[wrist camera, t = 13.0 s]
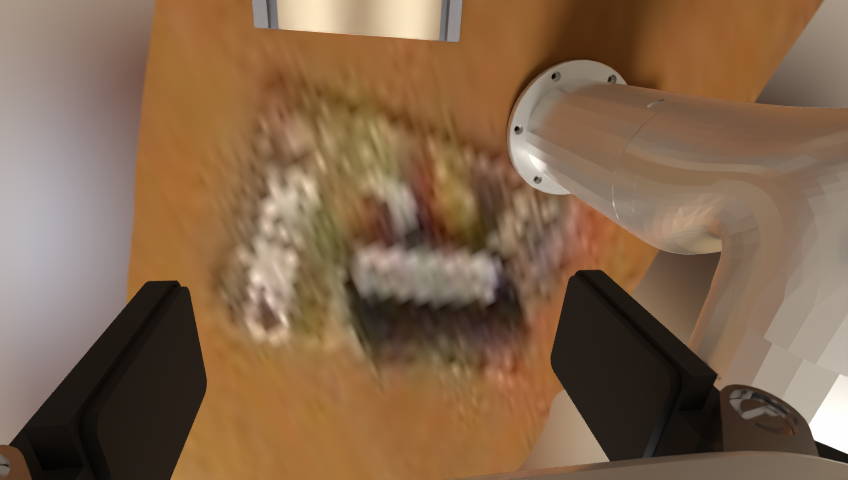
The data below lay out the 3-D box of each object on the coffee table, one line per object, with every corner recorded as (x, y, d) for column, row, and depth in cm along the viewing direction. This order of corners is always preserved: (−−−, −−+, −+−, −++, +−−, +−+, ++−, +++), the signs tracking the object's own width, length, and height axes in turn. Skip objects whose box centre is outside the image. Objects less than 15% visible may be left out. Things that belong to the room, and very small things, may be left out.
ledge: (435, -15, 34) (443, -20, 31) (431, 40, 36) (439, 39, 33) (280, -30, 32) (274, -37, 29) (284, 29, 34) (278, 28, 31)
